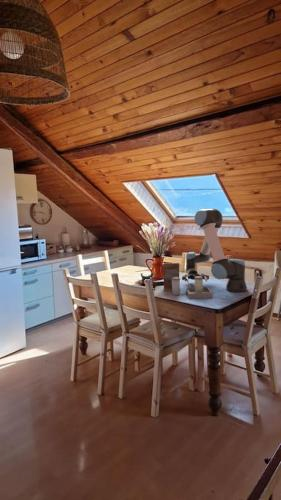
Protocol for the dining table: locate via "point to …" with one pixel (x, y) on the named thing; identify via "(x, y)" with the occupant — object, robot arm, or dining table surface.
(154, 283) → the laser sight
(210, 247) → the robot arm
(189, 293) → the tray
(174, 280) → the gray canister
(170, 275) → the panel
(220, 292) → the dining table surface
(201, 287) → the sage canister
